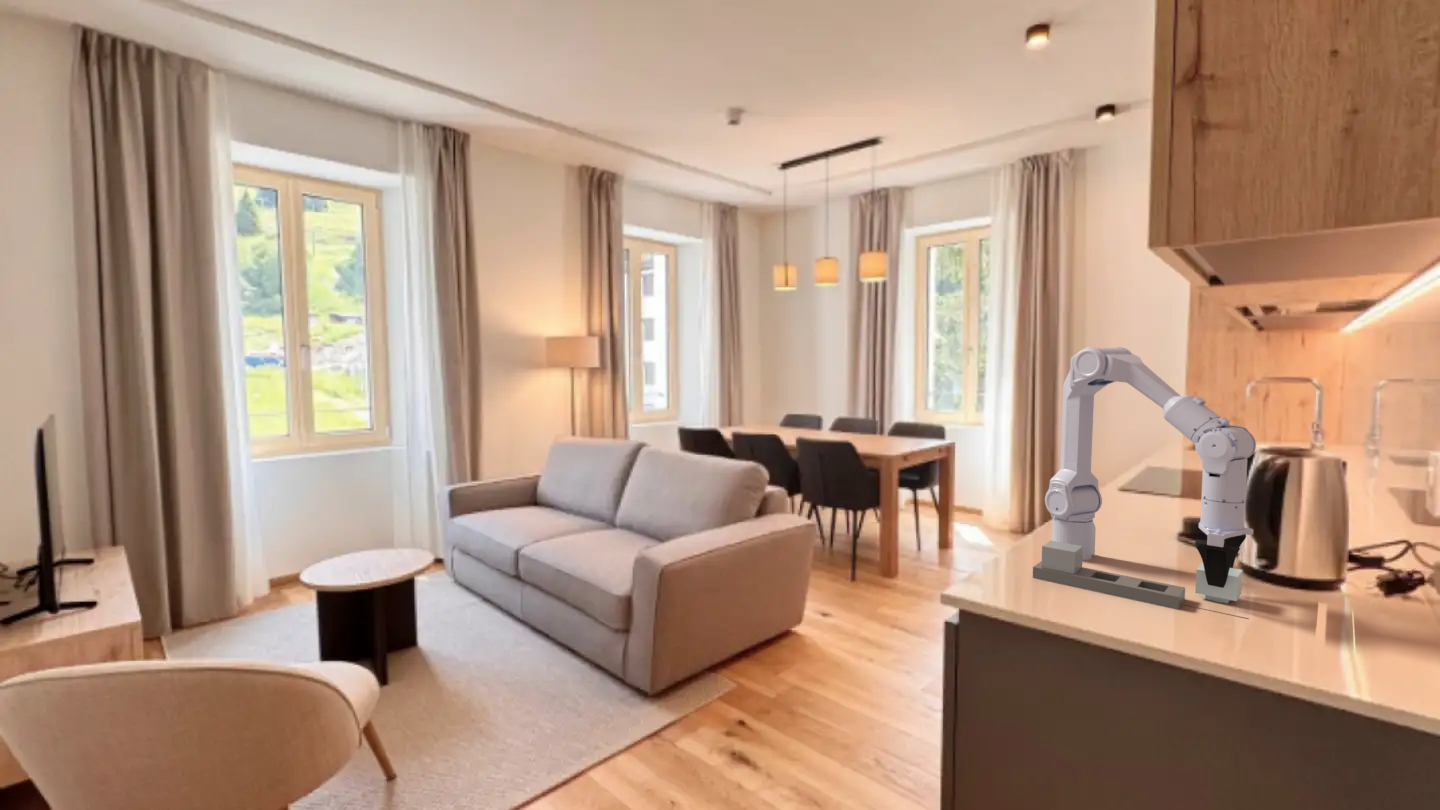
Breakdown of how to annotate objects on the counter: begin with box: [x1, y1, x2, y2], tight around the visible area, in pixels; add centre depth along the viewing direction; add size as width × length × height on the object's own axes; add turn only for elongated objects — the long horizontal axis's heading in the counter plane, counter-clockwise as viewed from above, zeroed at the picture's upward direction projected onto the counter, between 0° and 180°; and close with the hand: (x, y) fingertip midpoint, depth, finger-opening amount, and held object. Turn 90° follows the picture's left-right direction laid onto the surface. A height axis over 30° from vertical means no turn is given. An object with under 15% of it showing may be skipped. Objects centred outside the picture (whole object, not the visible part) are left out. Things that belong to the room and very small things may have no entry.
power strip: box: [1032, 540, 1250, 620], centre depth 109 cm, size 6×30×7 cm, turn 46°
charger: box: [1195, 562, 1244, 605], centre depth 106 cm, size 5×5×6 cm
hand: (1219, 580), depth 106 cm, fingers open, 7 cm apart
